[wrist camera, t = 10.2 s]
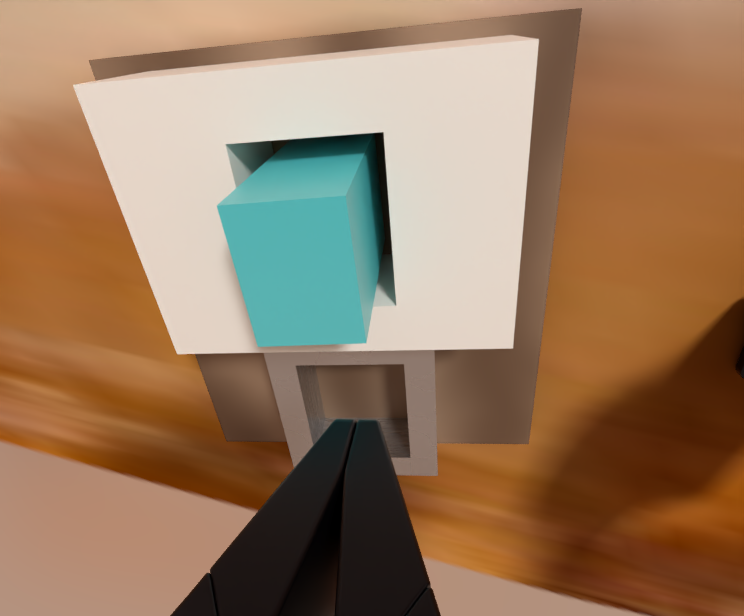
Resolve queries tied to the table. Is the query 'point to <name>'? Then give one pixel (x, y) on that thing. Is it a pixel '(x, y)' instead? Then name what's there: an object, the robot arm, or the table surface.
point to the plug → (309, 241)
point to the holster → (403, 435)
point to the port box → (320, 119)
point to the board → (387, 381)
